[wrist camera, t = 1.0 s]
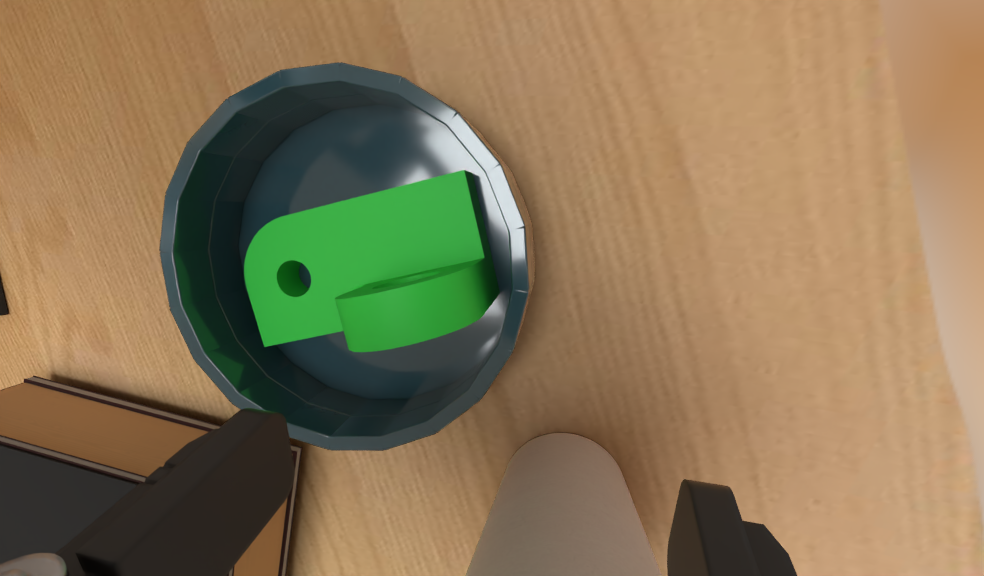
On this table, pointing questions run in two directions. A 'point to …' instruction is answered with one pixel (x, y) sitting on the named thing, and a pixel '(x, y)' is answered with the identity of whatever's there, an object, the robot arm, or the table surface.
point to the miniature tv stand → (97, 468)
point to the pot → (283, 191)
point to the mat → (2, 302)
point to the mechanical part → (375, 267)
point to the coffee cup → (563, 516)
